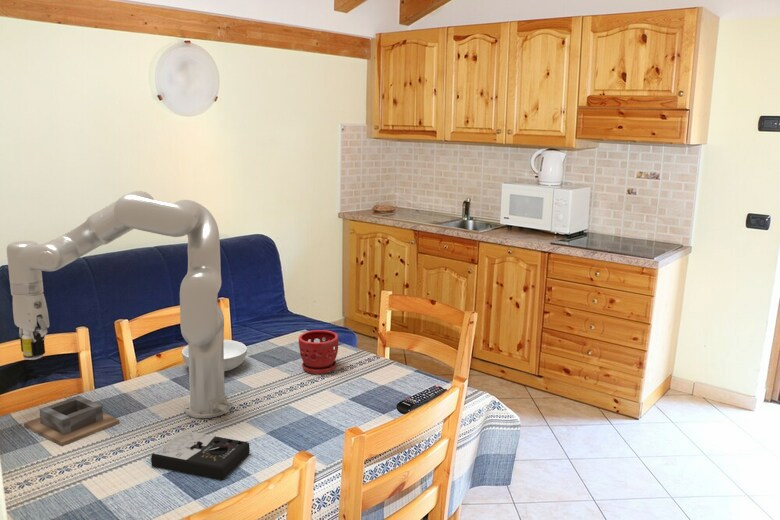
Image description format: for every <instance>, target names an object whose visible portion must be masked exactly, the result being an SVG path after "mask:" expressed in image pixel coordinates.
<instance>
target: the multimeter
mask: <svg viewBox="0 0 780 520" xmlns="http://www.w3.org/2000/svg"><path fill="white" fill-rule="evenodd" d="M250 451H251V450H250V443H249V442H247V441H243V440H237V439H233V438H226V437H220V436H216V435H215V436H214V435H210V434H205V433H198V432H192V431H187V430H183V431H181V432H180V433H178V434H176V436H174V437H173V438H171V439H170V440H169V441H167V442H166V443H165V444H163V445H162V446H161V447H159V448H158V449H156V450H155V451H153V452H152V454H150V455H151V456H150V463H151V467H152V468H157V469H161V470H168V471H172V472H177V473H182V474H188V475H192V476H199V477H202V478H207V479H213V480H218V481H223V480H225V479H226V478H227V477H228V476H229V475H230V473H232V472H233V471H234V470H236V468H237V467H238V466H239V465H240V464H241V463H242V462H243V461H244V460H246V458H247V457H248V456H249V455H250V453H251V452H250Z"/></svg>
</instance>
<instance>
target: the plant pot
mask: <svg viewBox="0 0 780 520" xmlns="http://www.w3.org/2000/svg"><path fill="white" fill-rule="evenodd" d="M323 338H325V340H323ZM316 339H318V340H319V342H315V340H316ZM309 340H310V341H309ZM298 347H299V354H300V357H301V360H302V364H301V367H302V369H303V370H304V371H305V372H307V373H309V374H314V375H315V374H316V375H321V374H327V372H328V373H331V372H332V371H333V370H335V369H336V367H337V361H336V359H337V356H338V352H339V335H338V333H336V332H335V331H331V330H326V329H325V330H324V329H323V330H322V329H316V330H315V329H313V330H309V331H306V332H303V333H300V335H299V336H298Z"/></svg>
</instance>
